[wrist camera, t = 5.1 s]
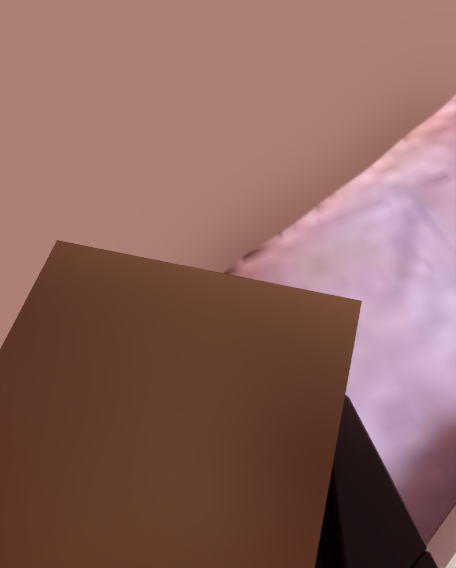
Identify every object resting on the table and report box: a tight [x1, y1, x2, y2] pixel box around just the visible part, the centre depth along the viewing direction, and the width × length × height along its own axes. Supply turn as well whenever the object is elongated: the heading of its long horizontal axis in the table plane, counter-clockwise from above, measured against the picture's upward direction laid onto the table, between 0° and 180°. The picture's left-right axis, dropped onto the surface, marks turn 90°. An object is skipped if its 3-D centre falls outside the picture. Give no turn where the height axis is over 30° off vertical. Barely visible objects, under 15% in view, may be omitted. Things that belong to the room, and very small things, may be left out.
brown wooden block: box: [0, 240, 362, 568], centre depth 9 cm, size 4×4×12 cm
